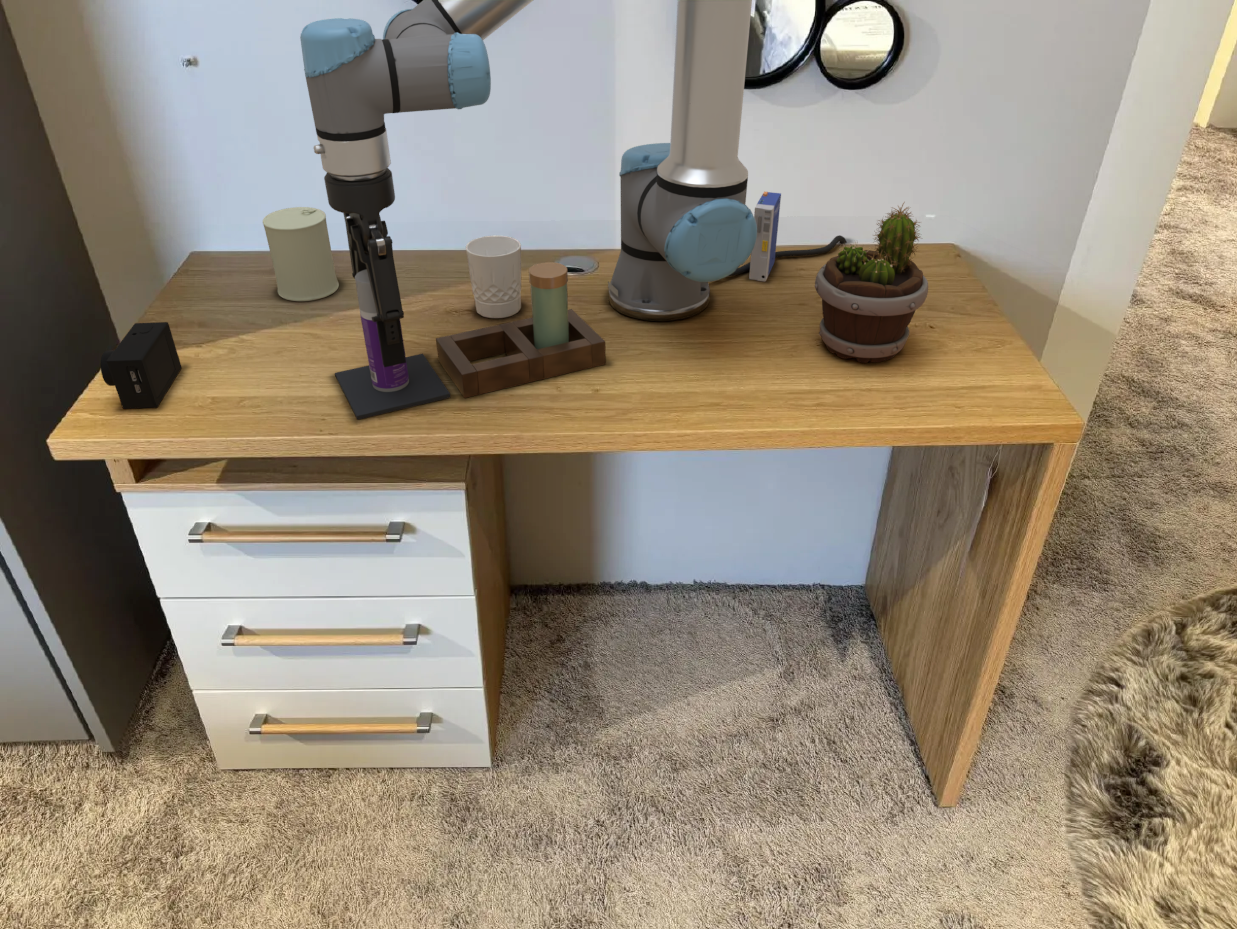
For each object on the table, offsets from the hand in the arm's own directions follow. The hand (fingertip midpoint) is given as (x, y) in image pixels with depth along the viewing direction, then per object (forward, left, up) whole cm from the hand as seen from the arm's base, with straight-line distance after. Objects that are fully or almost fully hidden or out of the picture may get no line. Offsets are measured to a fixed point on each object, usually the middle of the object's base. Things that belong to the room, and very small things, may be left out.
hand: (386, 349), depth 121 cm
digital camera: (+28, -14, -6) cm, 32 cm away
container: (0, 0, -5) cm, 5 cm away
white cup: (-21, -15, -6) cm, 26 cm away
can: (+3, -35, -6) cm, 36 cm away
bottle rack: (-18, +2, -6) cm, 18 cm away
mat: (0, 0, -6) cm, 6 cm away
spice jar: (-22, +2, -6) cm, 23 cm away
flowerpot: (-62, +19, -6) cm, 64 cm away
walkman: (-64, -9, -6) cm, 64 cm away
